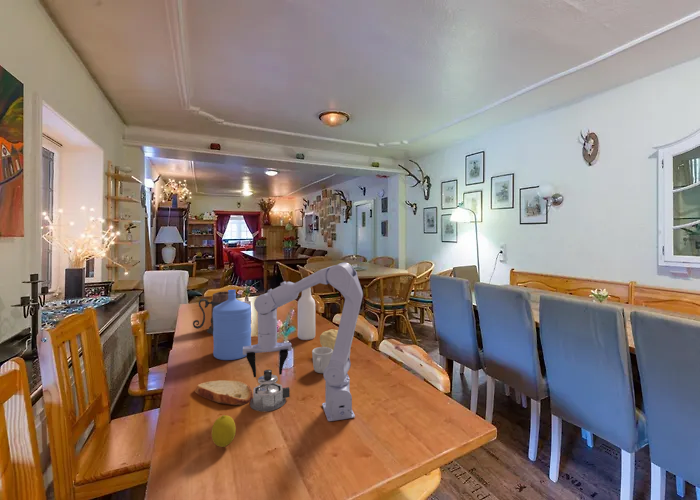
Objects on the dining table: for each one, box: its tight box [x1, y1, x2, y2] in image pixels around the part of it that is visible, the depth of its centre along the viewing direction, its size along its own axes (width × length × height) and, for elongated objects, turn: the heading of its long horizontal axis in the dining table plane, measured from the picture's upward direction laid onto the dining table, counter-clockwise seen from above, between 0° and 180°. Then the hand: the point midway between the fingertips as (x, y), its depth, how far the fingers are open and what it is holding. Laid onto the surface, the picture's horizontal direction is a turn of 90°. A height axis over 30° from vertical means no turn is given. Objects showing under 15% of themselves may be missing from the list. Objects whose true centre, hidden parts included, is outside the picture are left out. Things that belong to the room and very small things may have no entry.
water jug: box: [212, 289, 252, 361], centre depth 141 cm, size 16×16×28 cm
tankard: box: [192, 290, 228, 335], centre depth 174 cm, size 24×17×20 cm
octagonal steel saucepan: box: [252, 382, 291, 409], centre depth 102 cm, size 9×11×4 cm
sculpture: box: [319, 328, 338, 350], centre depth 142 cm, size 12×12×11 cm
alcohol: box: [297, 277, 316, 341], centre depth 163 cm, size 9×9×30 cm
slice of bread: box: [194, 379, 253, 406], centre depth 106 cm, size 18×18×4 cm
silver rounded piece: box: [257, 369, 279, 396], centre depth 101 cm, size 7×7×7 cm
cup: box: [311, 346, 333, 374], centre depth 123 cm, size 11×8×8 cm
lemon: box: [211, 414, 237, 448], centre depth 80 cm, size 6×6×8 cm
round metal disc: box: [249, 398, 287, 413], centre depth 102 cm, size 11×11×1 cm
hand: (267, 374), depth 101 cm, fingers open, 7 cm apart
